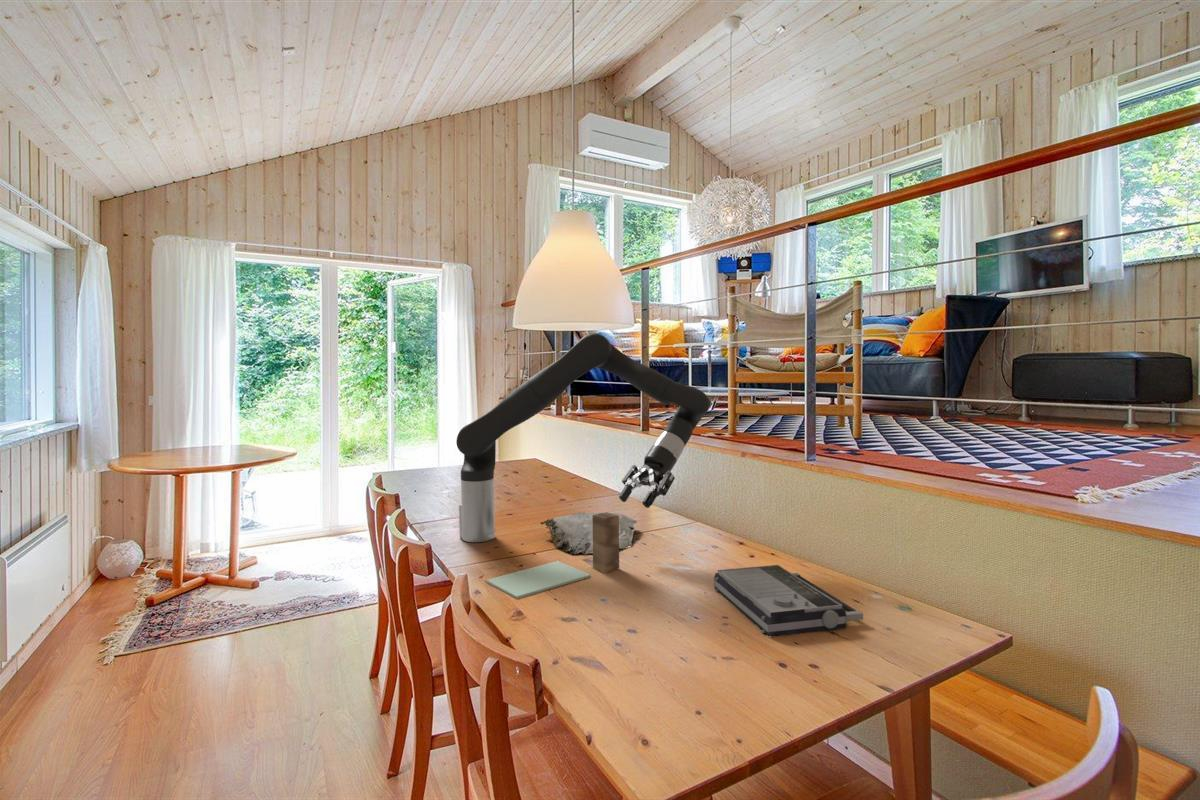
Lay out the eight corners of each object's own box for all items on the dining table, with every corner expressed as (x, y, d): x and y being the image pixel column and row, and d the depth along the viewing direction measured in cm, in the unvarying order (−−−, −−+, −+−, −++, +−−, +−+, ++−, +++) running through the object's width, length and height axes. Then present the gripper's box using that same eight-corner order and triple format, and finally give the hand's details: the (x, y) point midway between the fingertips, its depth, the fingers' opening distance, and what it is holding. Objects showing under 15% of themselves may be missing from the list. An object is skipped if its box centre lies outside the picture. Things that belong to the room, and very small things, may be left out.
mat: (557, 563, 146) (557, 561, 146) (590, 576, 136) (590, 574, 136) (486, 582, 133) (486, 579, 133) (516, 598, 123) (516, 596, 123)
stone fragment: (664, 542, 166) (665, 520, 165) (581, 562, 148) (581, 537, 148) (609, 522, 186) (609, 501, 186) (530, 537, 169) (530, 515, 168)
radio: (712, 567, 127) (795, 560, 132) (712, 591, 128) (795, 583, 132) (768, 611, 104) (867, 601, 108) (768, 641, 104) (867, 629, 108)
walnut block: (607, 564, 145) (606, 512, 144) (619, 568, 142) (618, 515, 141) (592, 568, 142) (592, 515, 141) (605, 572, 139) (604, 518, 138)
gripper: (638, 441, 158) (606, 489, 151) (678, 446, 147) (645, 498, 140) (652, 459, 161) (621, 506, 154) (692, 465, 150) (661, 517, 144)
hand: (633, 502), depth 147 cm, fingers open, 8 cm apart
